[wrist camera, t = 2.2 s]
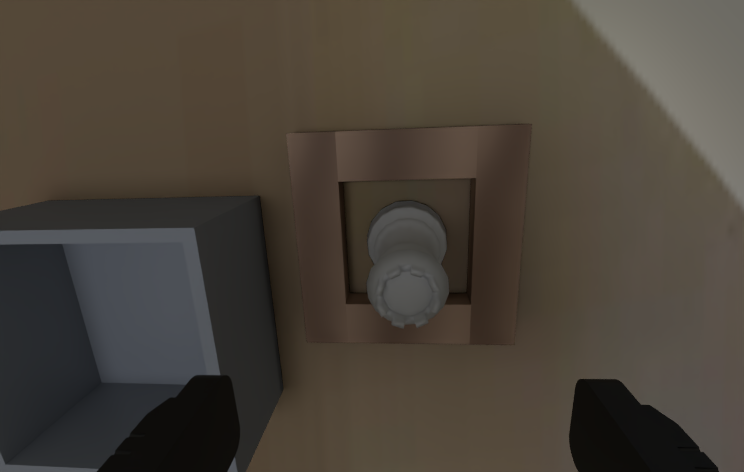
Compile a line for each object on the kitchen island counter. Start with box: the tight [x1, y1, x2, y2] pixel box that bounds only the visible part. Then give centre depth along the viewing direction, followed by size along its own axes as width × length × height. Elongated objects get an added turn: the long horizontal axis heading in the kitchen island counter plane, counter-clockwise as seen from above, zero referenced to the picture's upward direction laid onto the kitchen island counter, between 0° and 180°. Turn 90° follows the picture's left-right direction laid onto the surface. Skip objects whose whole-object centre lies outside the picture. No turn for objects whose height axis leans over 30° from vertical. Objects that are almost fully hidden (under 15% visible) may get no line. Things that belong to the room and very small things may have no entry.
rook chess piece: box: [366, 201, 449, 329], centre depth 18 cm, size 4×4×8 cm
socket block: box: [286, 124, 532, 345], centre depth 21 cm, size 12×12×2 cm
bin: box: [0, 196, 283, 472], centre depth 21 cm, size 13×13×7 cm
